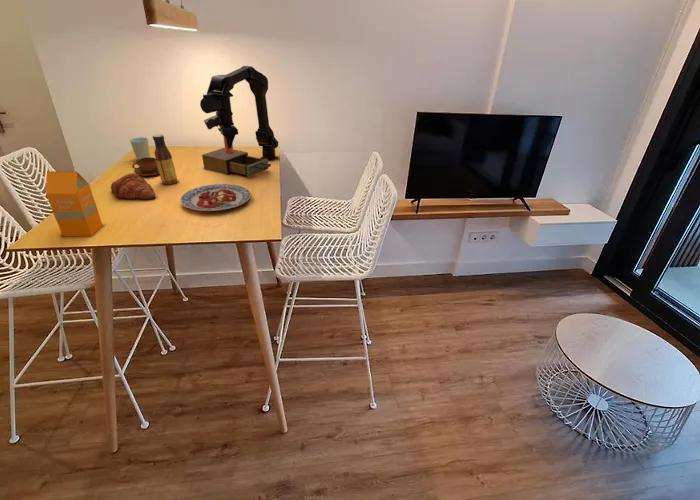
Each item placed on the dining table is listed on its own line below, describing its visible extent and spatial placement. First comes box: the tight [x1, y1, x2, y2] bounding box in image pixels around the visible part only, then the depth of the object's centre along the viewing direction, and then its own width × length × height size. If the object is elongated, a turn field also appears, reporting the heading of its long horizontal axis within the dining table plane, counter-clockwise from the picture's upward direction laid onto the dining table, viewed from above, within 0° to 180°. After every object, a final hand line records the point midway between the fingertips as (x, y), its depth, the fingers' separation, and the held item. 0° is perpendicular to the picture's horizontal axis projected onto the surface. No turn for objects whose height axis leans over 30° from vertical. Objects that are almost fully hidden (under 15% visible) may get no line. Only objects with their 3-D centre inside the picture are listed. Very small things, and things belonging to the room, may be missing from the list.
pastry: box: [110, 172, 156, 201], centre depth 149 cm, size 17×15×8 cm
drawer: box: [227, 155, 272, 178], centre depth 175 cm, size 18×13×5 cm
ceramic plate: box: [179, 183, 252, 212], centre depth 147 cm, size 26×26×3 cm
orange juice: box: [45, 170, 103, 237], centre depth 119 cm, size 8×9×20 cm
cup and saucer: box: [131, 156, 160, 177], centre depth 170 cm, size 12×12×6 cm
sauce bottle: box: [152, 133, 178, 185], centre depth 158 cm, size 7×6×20 cm
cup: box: [129, 136, 151, 162], centre depth 183 cm, size 8×8×10 cm
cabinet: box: [201, 147, 249, 175], centre depth 180 cm, size 15×15×7 cm
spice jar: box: [222, 135, 234, 155], centre depth 165 cm, size 3×3×8 cm
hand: (228, 147), depth 166 cm, fingers closed on spice jar, 3 cm apart
